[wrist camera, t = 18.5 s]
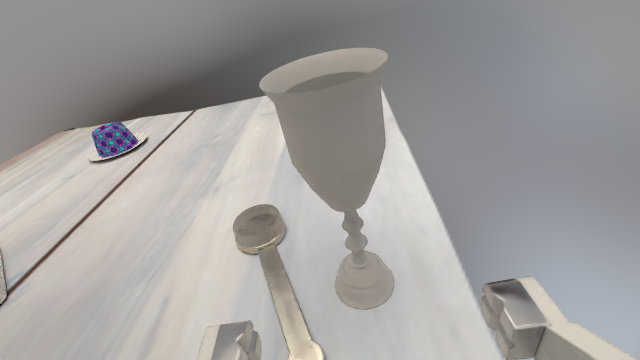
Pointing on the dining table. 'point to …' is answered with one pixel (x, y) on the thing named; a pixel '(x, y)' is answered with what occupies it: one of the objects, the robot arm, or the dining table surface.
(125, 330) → the dining table surface
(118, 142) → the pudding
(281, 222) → the spoon
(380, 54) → the chalice
